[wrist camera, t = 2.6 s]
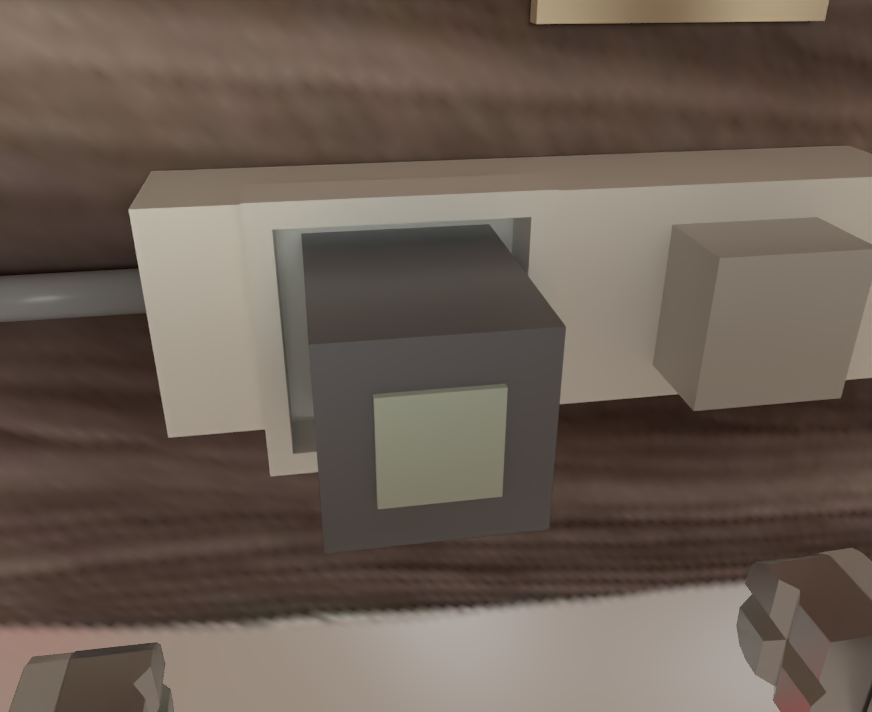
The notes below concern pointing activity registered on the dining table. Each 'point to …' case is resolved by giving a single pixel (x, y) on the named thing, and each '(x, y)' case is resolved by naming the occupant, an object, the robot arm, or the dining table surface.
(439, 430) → the block
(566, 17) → the coaster
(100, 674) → the robot arm
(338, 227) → the power strip
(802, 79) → the dining table surface
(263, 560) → the dining table surface
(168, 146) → the dining table surface
